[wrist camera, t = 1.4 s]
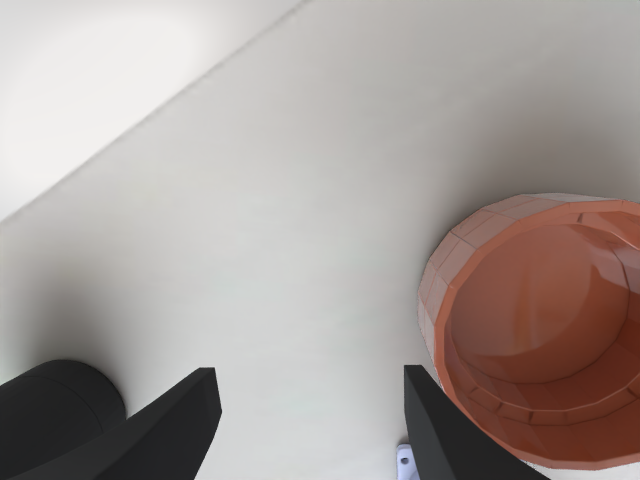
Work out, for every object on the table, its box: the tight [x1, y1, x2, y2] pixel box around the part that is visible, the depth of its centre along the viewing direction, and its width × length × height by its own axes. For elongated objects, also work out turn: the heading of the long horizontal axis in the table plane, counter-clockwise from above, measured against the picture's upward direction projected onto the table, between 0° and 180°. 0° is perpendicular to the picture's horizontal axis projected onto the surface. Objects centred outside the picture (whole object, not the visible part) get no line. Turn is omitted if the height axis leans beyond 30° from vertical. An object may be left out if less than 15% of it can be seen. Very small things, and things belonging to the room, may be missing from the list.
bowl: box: [418, 193, 640, 471], centre depth 18 cm, size 13×13×6 cm
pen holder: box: [0, 360, 126, 480], centre depth 22 cm, size 9×9×10 cm
